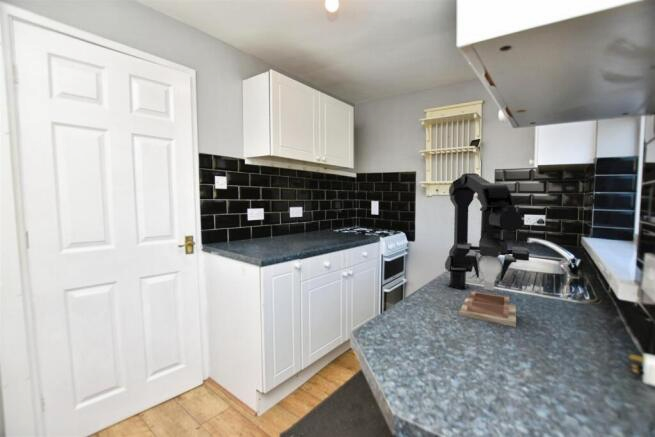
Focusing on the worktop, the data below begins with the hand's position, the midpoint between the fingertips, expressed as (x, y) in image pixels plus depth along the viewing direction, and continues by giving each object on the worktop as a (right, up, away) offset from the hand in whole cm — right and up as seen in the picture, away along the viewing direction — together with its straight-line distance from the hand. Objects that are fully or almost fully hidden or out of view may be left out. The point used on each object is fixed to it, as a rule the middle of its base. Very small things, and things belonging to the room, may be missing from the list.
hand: (489, 279), depth 88 cm
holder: (0, -10, +1) cm, 10 cm away
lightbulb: (0, -4, 0) cm, 4 cm away
